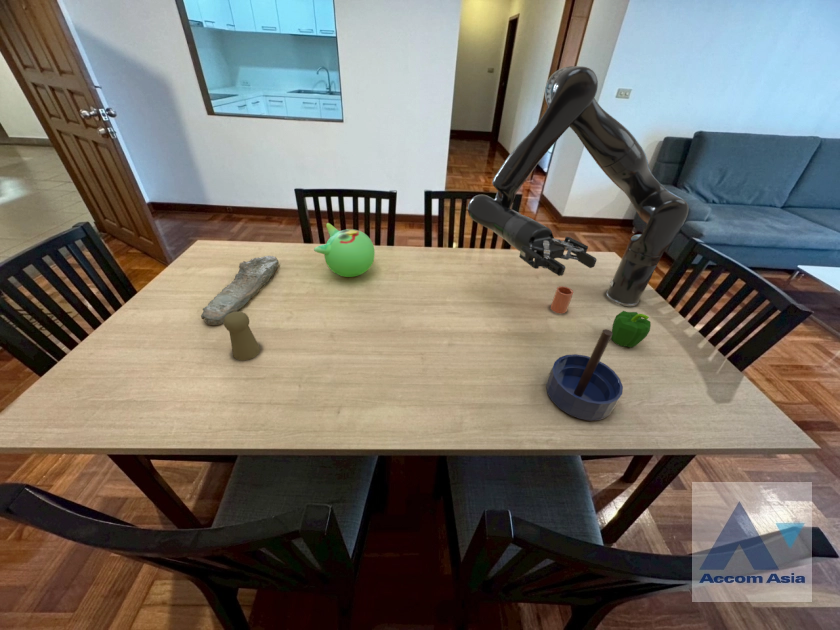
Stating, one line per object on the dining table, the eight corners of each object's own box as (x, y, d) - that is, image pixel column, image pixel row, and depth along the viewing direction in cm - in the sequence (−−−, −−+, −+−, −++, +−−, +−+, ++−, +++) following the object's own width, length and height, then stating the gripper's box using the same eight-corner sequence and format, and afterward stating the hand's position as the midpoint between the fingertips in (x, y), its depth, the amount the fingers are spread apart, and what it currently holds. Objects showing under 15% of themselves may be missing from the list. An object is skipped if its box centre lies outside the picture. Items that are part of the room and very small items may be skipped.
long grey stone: (193, 327, 93) (229, 333, 93) (186, 312, 90) (224, 318, 89) (258, 259, 120) (286, 264, 119) (255, 246, 116) (284, 250, 116)
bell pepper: (599, 335, 97) (612, 306, 91) (620, 329, 100) (635, 300, 94) (623, 355, 91) (640, 325, 85) (646, 348, 94) (663, 318, 88)
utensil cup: (558, 304, 108) (565, 284, 104) (569, 312, 105) (577, 293, 101) (546, 307, 107) (553, 288, 102) (557, 316, 103) (565, 296, 99)
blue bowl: (577, 365, 87) (585, 347, 83) (626, 408, 77) (637, 390, 73) (532, 383, 82) (539, 364, 78) (578, 431, 72) (588, 413, 68)
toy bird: (371, 287, 111) (369, 244, 102) (317, 284, 111) (311, 241, 102) (377, 259, 125) (376, 220, 116) (330, 257, 125) (325, 217, 116)
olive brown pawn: (265, 347, 87) (255, 311, 80) (248, 363, 82) (235, 326, 76) (245, 340, 88) (233, 305, 82) (227, 356, 84) (213, 320, 77)
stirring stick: (578, 389, 80) (607, 328, 69) (584, 395, 79) (614, 333, 68) (572, 392, 79) (600, 330, 68) (578, 397, 78) (608, 336, 67)
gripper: (505, 224, 78) (557, 257, 66) (554, 216, 83) (610, 244, 71) (499, 255, 82) (547, 290, 71) (546, 245, 87) (598, 276, 76)
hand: (579, 267), depth 71 cm, fingers open, 8 cm apart
